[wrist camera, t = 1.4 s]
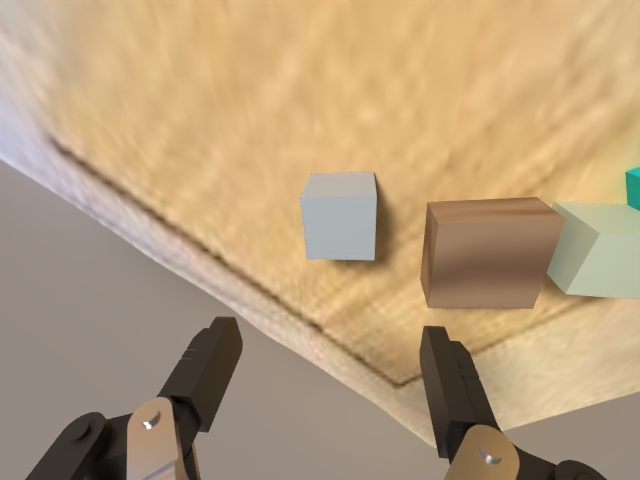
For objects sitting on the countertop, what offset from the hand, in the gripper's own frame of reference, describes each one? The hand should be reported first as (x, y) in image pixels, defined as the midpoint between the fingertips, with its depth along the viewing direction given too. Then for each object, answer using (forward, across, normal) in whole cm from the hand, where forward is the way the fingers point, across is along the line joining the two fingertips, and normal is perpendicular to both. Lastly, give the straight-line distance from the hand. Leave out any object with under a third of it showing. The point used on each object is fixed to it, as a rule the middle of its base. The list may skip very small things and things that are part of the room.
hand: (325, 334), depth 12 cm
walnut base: (+14, -11, +4) cm, 18 cm away
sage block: (+12, -21, +3) cm, 24 cm away
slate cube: (+14, 0, 0) cm, 14 cm away
